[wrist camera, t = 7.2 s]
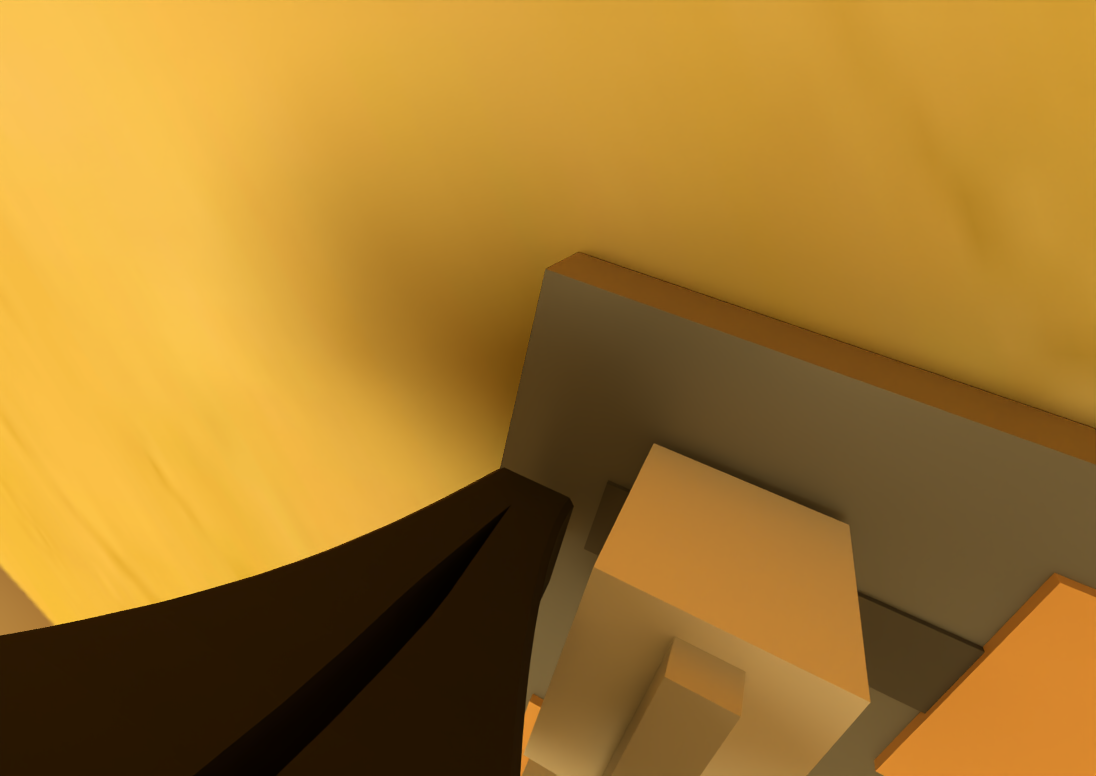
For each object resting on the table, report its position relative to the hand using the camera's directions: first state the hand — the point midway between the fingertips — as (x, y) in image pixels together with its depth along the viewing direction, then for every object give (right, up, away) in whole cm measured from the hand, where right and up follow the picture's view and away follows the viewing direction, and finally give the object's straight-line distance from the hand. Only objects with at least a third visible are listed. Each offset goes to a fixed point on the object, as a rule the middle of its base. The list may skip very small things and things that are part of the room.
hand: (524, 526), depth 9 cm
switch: (+3, -1, 0) cm, 3 cm away
